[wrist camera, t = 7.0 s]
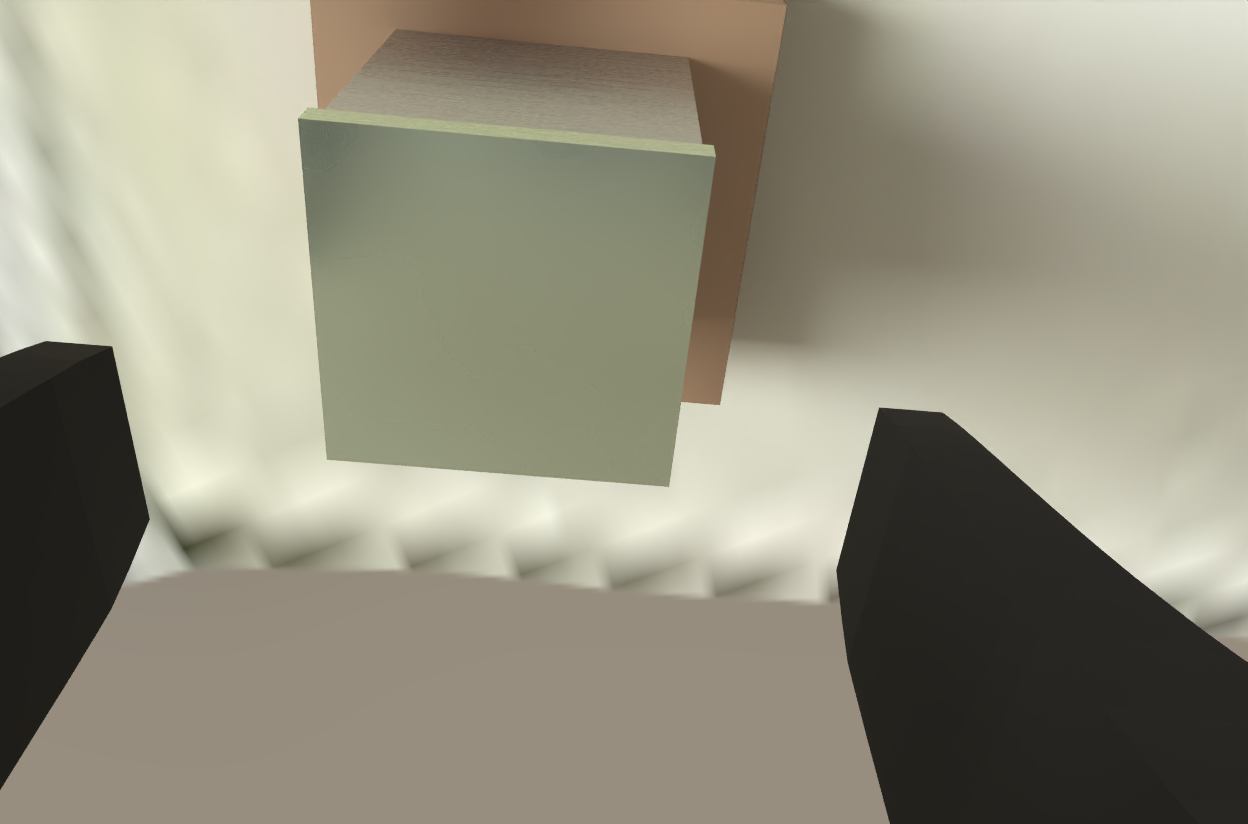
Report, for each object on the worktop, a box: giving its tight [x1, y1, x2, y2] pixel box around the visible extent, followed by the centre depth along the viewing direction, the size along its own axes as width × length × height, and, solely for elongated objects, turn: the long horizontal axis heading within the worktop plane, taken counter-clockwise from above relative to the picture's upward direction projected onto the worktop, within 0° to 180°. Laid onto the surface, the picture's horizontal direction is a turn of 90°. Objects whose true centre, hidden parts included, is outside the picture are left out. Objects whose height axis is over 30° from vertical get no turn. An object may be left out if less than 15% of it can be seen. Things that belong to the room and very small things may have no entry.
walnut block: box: [310, 0, 787, 405], centre depth 18 cm, size 7×7×2 cm
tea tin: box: [298, 29, 716, 487], centre depth 14 cm, size 5×5×5 cm
